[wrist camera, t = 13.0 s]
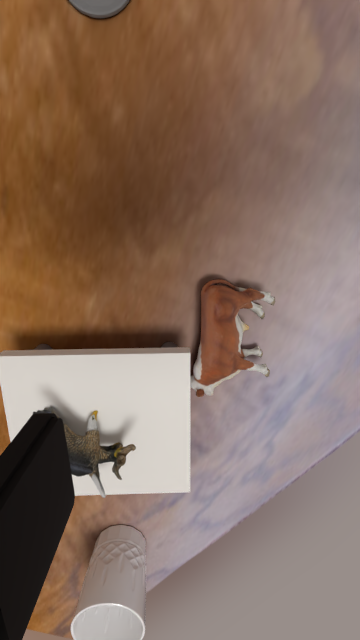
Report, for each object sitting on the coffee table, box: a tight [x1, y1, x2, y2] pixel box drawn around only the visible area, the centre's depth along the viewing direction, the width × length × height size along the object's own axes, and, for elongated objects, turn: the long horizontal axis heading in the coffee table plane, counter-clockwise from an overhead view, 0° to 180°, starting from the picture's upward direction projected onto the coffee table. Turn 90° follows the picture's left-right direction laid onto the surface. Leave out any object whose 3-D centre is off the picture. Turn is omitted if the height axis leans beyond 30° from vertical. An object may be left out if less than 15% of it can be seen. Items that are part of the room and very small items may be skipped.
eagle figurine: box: [33, 407, 136, 498], centre depth 30 cm, size 8×7×9 cm
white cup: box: [71, 525, 146, 640], centre depth 40 cm, size 8×8×10 cm
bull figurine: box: [190, 279, 275, 397], centre depth 35 cm, size 4×13×8 cm
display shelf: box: [0, 342, 190, 496], centre depth 36 cm, size 18×16×6 cm
